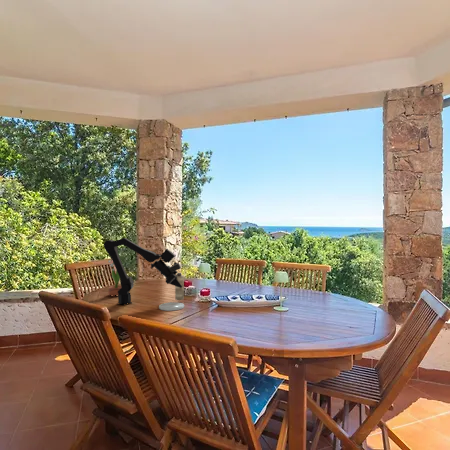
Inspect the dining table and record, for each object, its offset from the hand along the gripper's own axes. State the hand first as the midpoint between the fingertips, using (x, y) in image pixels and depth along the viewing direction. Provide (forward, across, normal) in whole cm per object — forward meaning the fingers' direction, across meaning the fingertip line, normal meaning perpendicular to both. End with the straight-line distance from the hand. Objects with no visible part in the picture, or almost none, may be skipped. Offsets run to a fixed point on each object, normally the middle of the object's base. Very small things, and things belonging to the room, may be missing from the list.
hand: (181, 286), depth 201 cm
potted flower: (-25, +24, +39) cm, 53 cm away
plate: (+3, -12, +10) cm, 16 cm away
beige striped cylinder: (+4, 0, +6) cm, 8 cm away
